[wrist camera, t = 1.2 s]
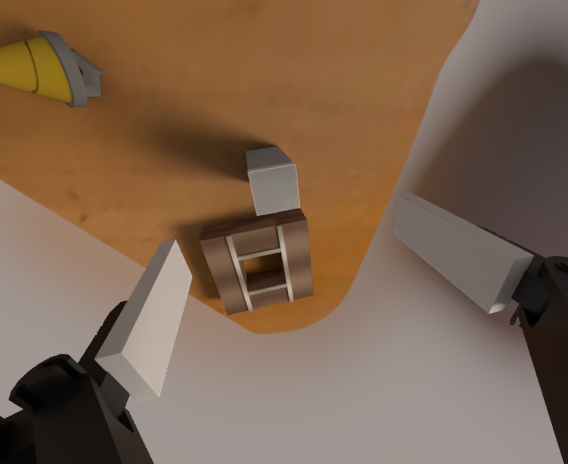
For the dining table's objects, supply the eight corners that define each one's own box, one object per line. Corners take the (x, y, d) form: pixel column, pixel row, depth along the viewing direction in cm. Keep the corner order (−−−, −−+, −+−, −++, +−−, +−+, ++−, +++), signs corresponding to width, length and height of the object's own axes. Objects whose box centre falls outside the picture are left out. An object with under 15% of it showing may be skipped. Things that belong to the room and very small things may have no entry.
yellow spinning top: (119, 117, 24) (-25, 126, 17) (90, 70, 23) (-70, 61, 17) (125, 78, 20) (-58, 70, 13) (90, 21, 20) (-118, -17, 13)
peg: (245, 151, 27) (247, 172, 19) (278, 145, 28) (295, 163, 19) (251, 183, 29) (257, 215, 21) (282, 177, 30) (300, 207, 21)
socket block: (202, 228, 31) (198, 242, 28) (300, 208, 32) (307, 220, 29) (228, 298, 38) (227, 316, 35) (308, 280, 40) (314, 296, 36)
